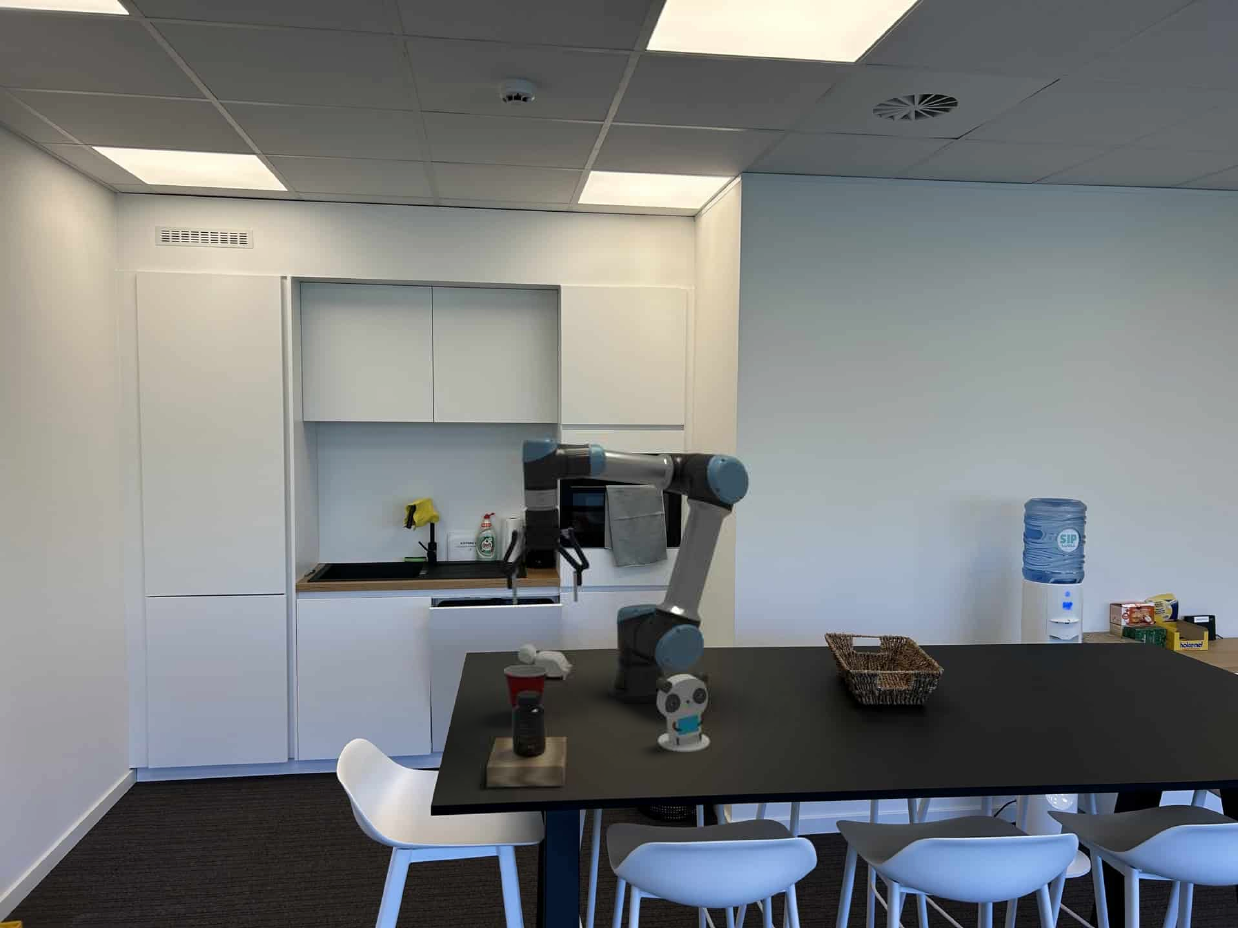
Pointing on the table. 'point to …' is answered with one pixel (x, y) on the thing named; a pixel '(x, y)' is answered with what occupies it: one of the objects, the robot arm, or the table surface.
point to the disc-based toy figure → (683, 711)
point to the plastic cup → (525, 680)
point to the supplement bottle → (528, 725)
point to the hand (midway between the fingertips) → (545, 601)
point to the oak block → (527, 765)
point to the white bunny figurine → (545, 660)
